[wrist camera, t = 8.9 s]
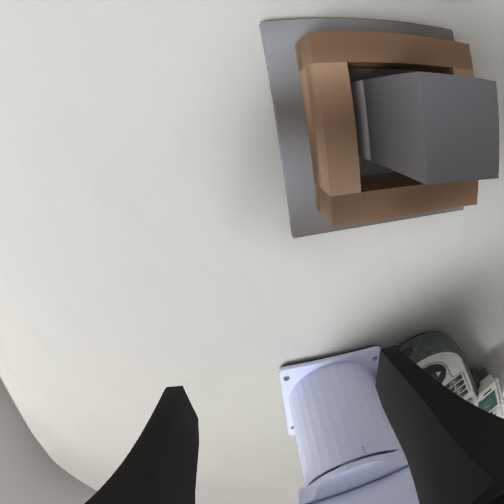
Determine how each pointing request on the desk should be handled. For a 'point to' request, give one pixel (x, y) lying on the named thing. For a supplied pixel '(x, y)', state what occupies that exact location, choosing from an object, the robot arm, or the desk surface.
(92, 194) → the desk surface
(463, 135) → the connector plug
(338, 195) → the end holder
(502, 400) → the communication device
